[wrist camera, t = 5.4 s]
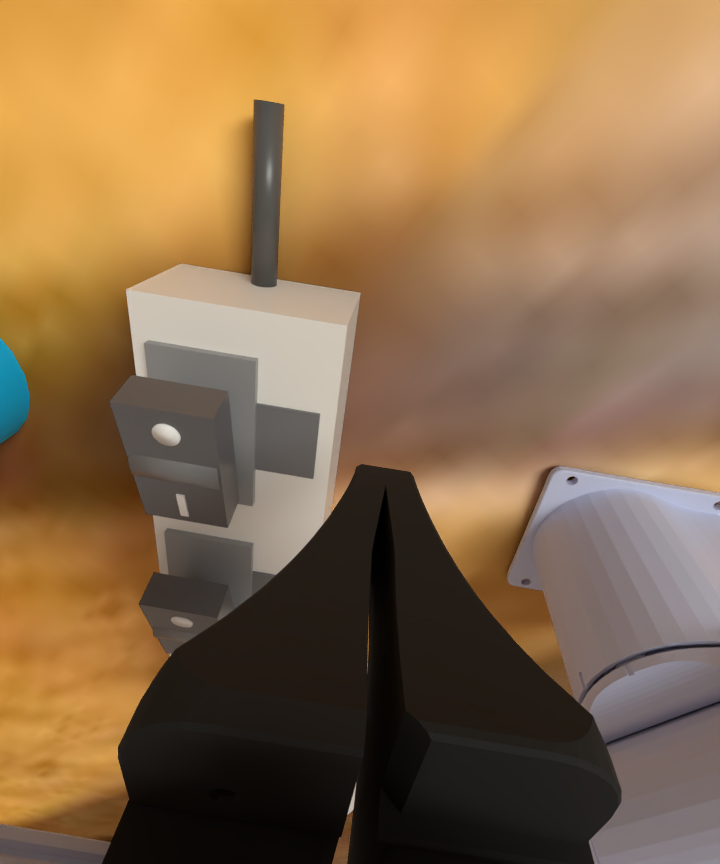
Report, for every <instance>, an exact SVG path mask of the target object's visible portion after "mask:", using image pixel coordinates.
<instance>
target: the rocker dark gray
mask: <svg viewBox="0 0 720 864" xmlns="http://www.w3.org/2000/svg"><path fill="white" fill-rule="evenodd" d="M139 606H140V608H141V609H142V611H143V613H144V615H145V616H146V618H147V620H148V622H149V624H150V625H151V627H152V629H153V635H154V637H157V638H158V640H159V641H160V643H161V645H162V647H163V648H164V650H165V652H166V653H169V654H172V653H173V652H174V650H175V649H176V648H178V647H179V646H181V645H182V644H184V643H185V642H187V641H189V640H190V639H192V638H193V637H195V636H196V635H198V634H199V633H201V632H202V631H204V630H205V629H207V628H209V627H210V626H212V625H213V624H215V623H216V622H218V621H219V620H221V619H222V618H223V617H225V616H226V615H228V614H229V613H230V612H231V611H233V610H234V606H233V602H232V597H231V593H230V588H229V585H224V584H219V583H213V582H207V581H202V580H196V579H190V578H184V577H179V576H173V575H167V574H162V573H156V572H154V573H153V575H152V577H151V579H150V581H149V584H148V586H147V588H146V590H145V592H144V594H143V596H142V598H141V600H140V603H139Z"/></svg>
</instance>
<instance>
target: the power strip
mask: <svg viewBox="0 0 720 864" xmlns="http://www.w3.org/2000/svg"><path fill="white" fill-rule="evenodd" d="M283 126H284V105H283V104H279V103H274V102H269V101H262V100H254V123H253V189H252V254H251V275H248V274H242V273H236V272H230V271H223V270H217V269H211V268H205V267H199V266H193V265H187V264H179V265H177V266H175V267H173V268H171V269H169V270H167V271H164V272H162V273H160V274H158V275H156V276H154V277H152V278H149V279H147V280H145V281H143V282H141V283H139V284H137V285H135V286H132V287H130V288H128V289H126V294H127V302H128V311H129V319H130V327H131V336H132V344H133V353H134V361H135V369H136V376H141V377H147V378H153V379H159V380H165V381H171V382H177V383H183V384H189V385H195V386H201V387H207V388H213V389H219V390H225V391H228V393H229V403H230V413H231V423H232V433H233V442H234V452H235V462H236V472H237V482H238V492H239V502H238V504H237V507H236V509H235V512H234V514H233V517H232V519H231V522H230V524H229V527H228V528H224V527H218V526H212V525H207V524H201V523H195V522H189V521H184V520H178V519H172V518H166V517H161V516H155V515H153V520H154V528H155V536H156V545H157V553H158V562H159V570H160V573H162V574H167V575H173V576H179V577H184V578H190V579H196V580H202V581H207V582H213V583H219V584H224V585H229V588H230V593H231V597H232V602H233V606H234V609H235V608H237V607H238V606H239V605H241V604H242V603H243V602H244V601H246V600H247V599H248V598H250V597H251V596H252V595H253V594H255V593H256V592H257V591H259V590H260V589H261V588H262V587H263V586H264V585H266V584H267V583H268V582H269V581H270V580H271V579H272V578H273V577H274V576H275V575H277V574H278V573H279V572H280V571H281V570H282V569H283V568H284V567H285V566H286V565H287V564H288V563H289V562H290V561H291V560H292V559H293V558H294V557H295V556H296V555H297V554H298V553H299V552H300V551H301V550H302V549H303V548H304V547H305V545H306V544H307V543H308V542H309V541H310V540H311V539H312V537H313V536H314V535H315V534H316V532H317V531H318V530H319V529H320V527H321V526H322V525H323V524H324V522H325V521H326V520H327V518H328V517H329V516H330V514H331V510H332V502H333V495H334V487H335V480H336V473H337V465H338V458H339V450H340V443H341V435H342V428H343V420H344V413H345V405H346V398H347V390H348V383H349V375H350V368H351V361H352V353H353V346H354V338H355V331H356V323H357V316H358V308H359V301H360V293H358V292H352V291H346V290H340V289H334V288H328V287H322V286H315V285H309V284H303V283H297V282H291V281H285V280H279V279H277V266H278V242H279V219H280V196H281V172H282V149H283ZM170 656H171V654H170Z"/></svg>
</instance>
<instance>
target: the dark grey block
mask: <svg viewBox="0 0 720 864" xmlns="http://www.w3.org/2000/svg"><path fill="white" fill-rule="evenodd" d="M110 405H111V408H112V411H113V414H114V417H115V420H116V423H117V426H118V430H119V433H120V436H121V439H122V442H123V445H124V448H125V451H126V454H127V457H128V460H129V468H130V471H131V473H132V474H133V476H134V479H135V482H136V485H137V488H138V491H139V494H140V497H141V500H142V503H143V506H144V509H145V513H146V514H149V515H155V516H161V517H166V518H172V519H178V520H184V521H189V522H195V523H201V524H207V525H212V526H218V527H224V528H228V527H229V524H230V522H231V519H232V517H233V514H234V512H235V509H236V507H237V504H238V502H239V492H238V482H237V472H236V462H235V452H234V442H233V433H232V423H231V413H230V403H229V393H228V391H225V390H219V389H213V388H207V387H201V386H195V385H189V384H183V383H177V382H171V381H165V380H159V379H153V378H147V377H141V376H135V375H131V376H130V377H129V379H128V380H127V381H126V382H125V383H124V385H123V386H122V387H121V388H120V390H119V391H118V392H117V393H116V394H115V396H114V397H113V398H112V399H111V400H110Z"/></svg>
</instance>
